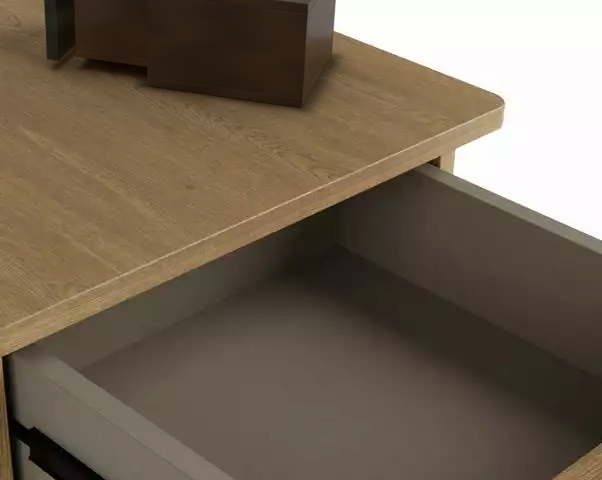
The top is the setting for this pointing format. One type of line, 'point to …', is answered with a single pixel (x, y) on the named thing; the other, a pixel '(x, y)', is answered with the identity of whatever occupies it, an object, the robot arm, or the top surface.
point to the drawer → (97, 29)
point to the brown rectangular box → (240, 47)
